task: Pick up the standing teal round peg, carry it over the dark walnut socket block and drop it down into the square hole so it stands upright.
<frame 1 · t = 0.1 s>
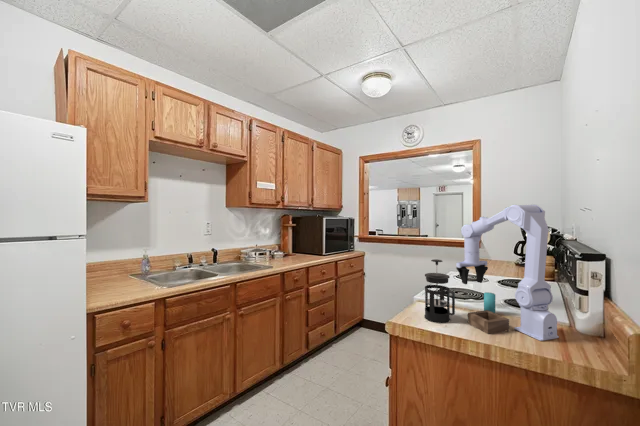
hand: (472, 283, 122), 10 cm above the worktop, tool pointing down, fingers open, 7 cm apart
french press: (438, 319, 109), on the worktop
socket block: (487, 326, 101), on the worktop
peg: (489, 313, 113), on the worktop
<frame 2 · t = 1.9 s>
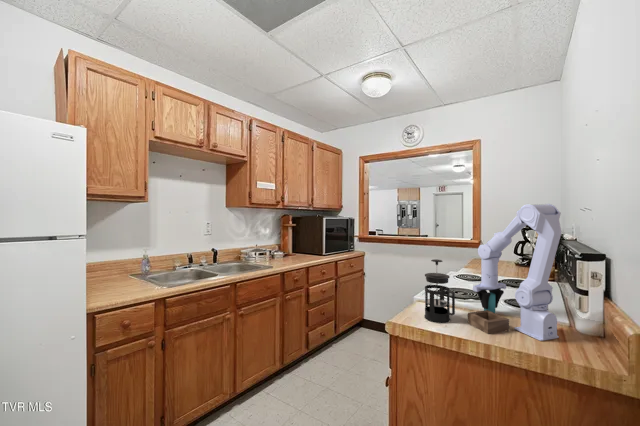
hand: (489, 307, 113), 2 cm above the worktop, tool pointing down, fingers closed on peg, 4 cm apart
peg: (489, 313, 113), on the worktop, touching gripper
everything else where it was.
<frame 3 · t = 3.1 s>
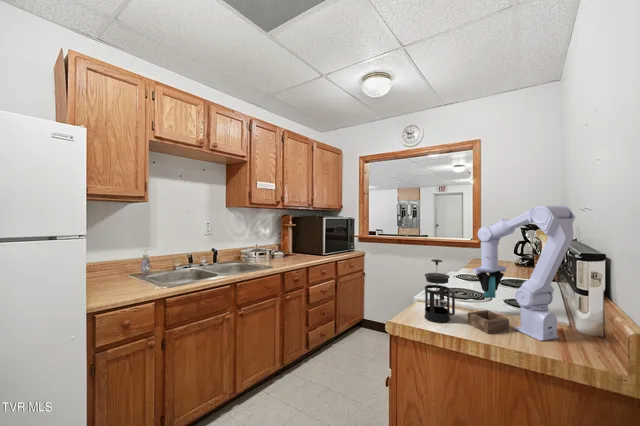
hand: (489, 290, 113), 9 cm above the worktop, tool pointing down, fingers closed on peg, 4 cm apart
peg: (489, 296, 113), point 7 cm above the worktop, touching gripper
everything else where it was.
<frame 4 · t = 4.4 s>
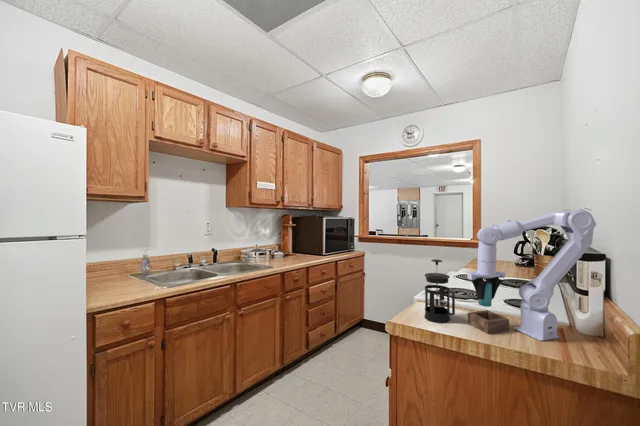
hand: (485, 298, 101), 10 cm above the worktop, tool pointing down, fingers closed on peg, 4 cm apart
peg: (484, 304, 101), point 8 cm above the worktop, touching gripper
everything else where it was.
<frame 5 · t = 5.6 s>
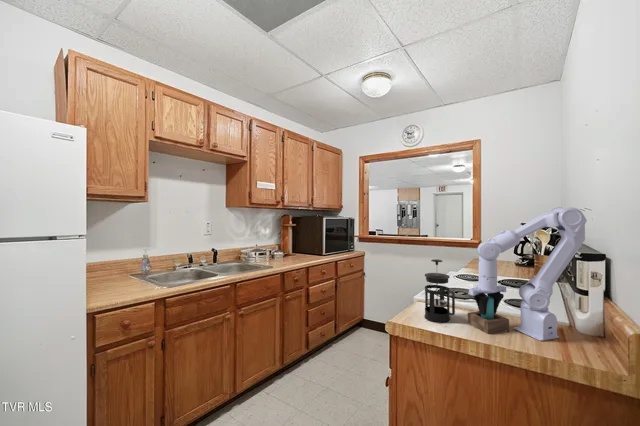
hand: (487, 313, 101), 5 cm above the worktop, tool pointing down, fingers closed on peg, 4 cm apart
peg: (487, 319, 101), point 3 cm above the worktop, touching gripper
everything else where it was.
when the fingers open (5 cm above the worktop, at t = 6.7 s): peg drops 2 cm, resting in socket block.
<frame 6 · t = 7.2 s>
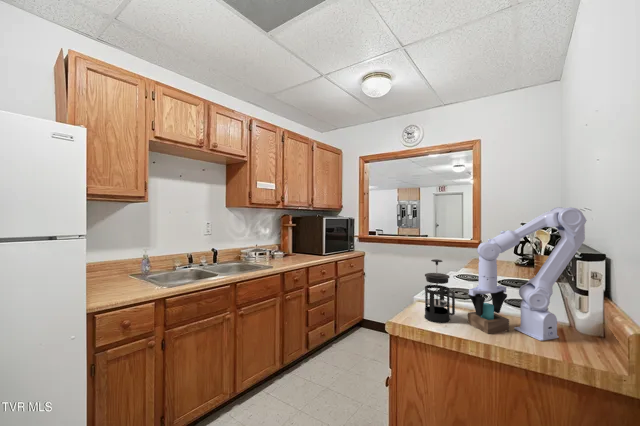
hand: (487, 313, 101), 5 cm above the worktop, tool pointing down, fingers open, 7 cm apart
peg: (487, 326, 101), resting in socket block
everything else where it was.
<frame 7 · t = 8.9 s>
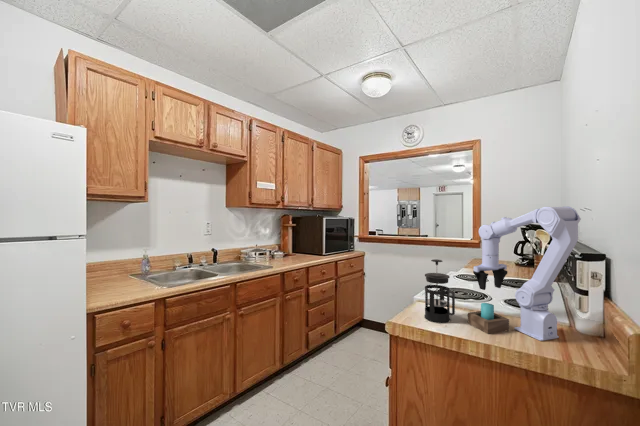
hand: (490, 288, 112), 11 cm above the worktop, tool pointing down, fingers open, 7 cm apart
nothing on the worktop moved.
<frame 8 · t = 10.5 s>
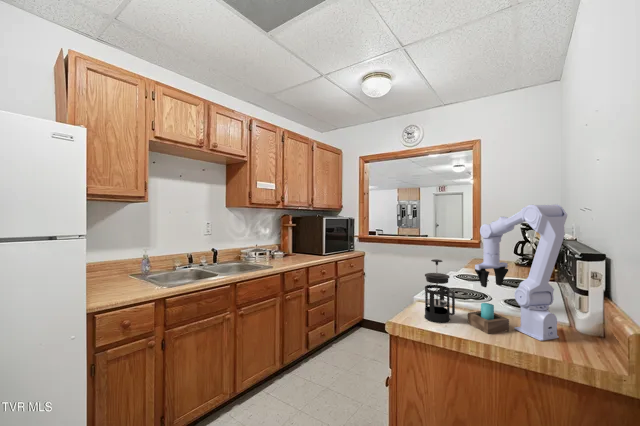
hand: (491, 285, 116), 10 cm above the worktop, tool pointing down, fingers open, 7 cm apart
nothing on the worktop moved.
at the end: peg 0.2 cm off-centre on the socket block, point 0.0 cm above the socket block's base; peg tilted 0°; the gripper is holding nothing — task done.
